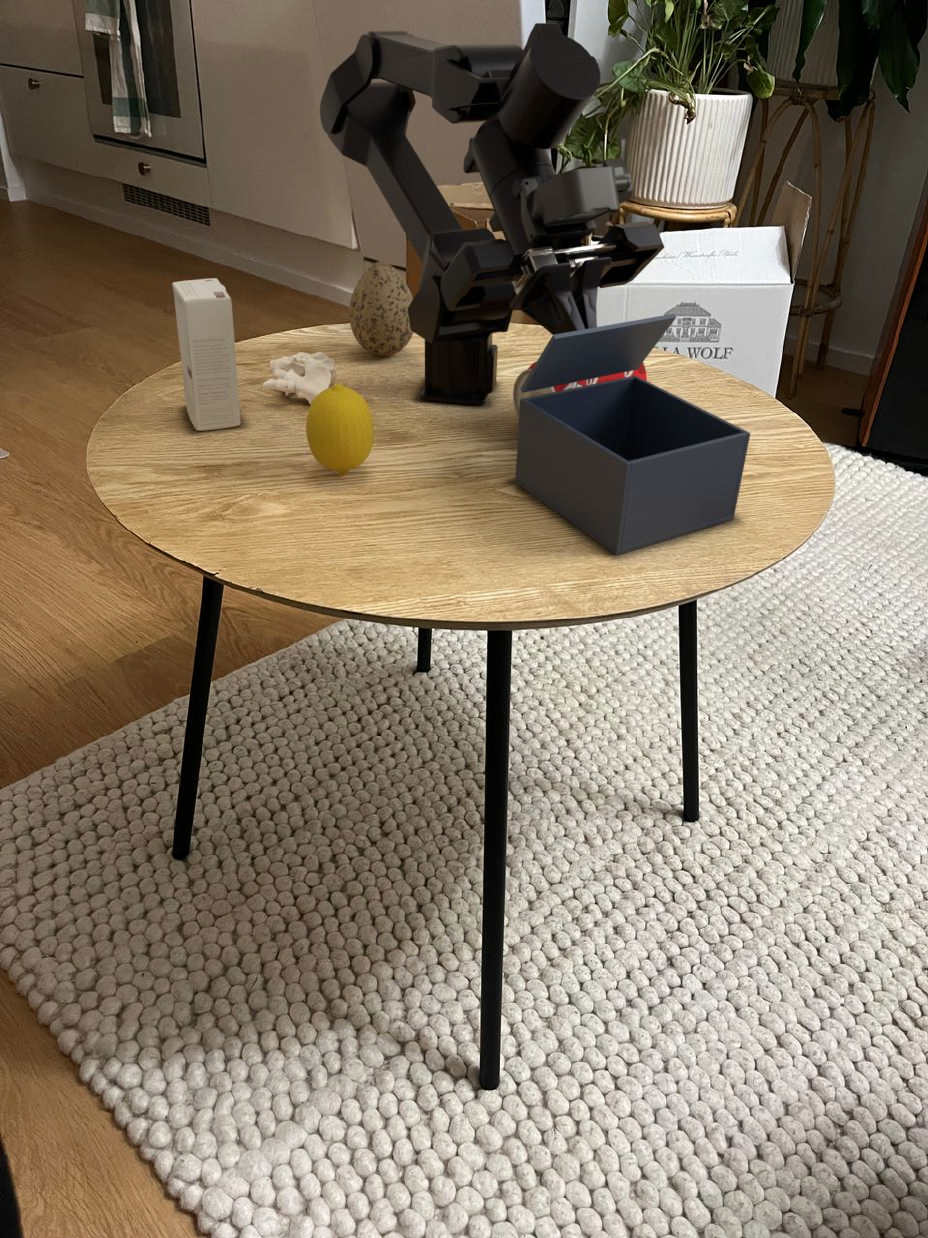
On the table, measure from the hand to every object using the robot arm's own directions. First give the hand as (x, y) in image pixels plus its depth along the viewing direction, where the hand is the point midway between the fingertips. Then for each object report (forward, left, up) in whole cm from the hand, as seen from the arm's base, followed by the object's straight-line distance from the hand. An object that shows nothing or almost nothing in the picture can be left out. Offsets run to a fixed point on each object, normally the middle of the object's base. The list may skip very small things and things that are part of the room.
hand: (590, 359), depth 80 cm
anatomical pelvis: (-29, +12, -10) cm, 33 cm away
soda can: (+3, +16, -7) cm, 17 cm away
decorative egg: (-24, +25, -10) cm, 36 cm away
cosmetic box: (-35, +4, -10) cm, 36 cm away
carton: (+4, -4, -10) cm, 12 cm away
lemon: (-20, -5, -10) cm, 23 cm away
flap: (+1, -1, +1) cm, 1 cm away
